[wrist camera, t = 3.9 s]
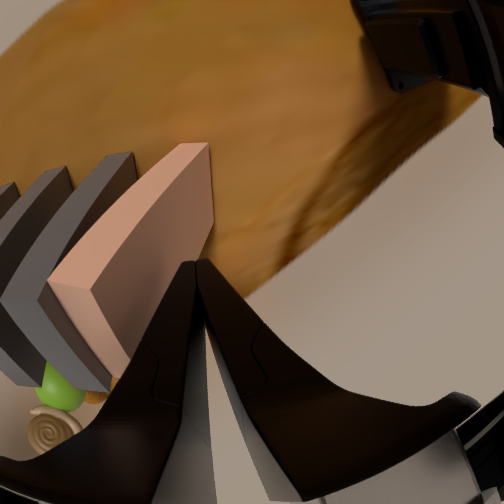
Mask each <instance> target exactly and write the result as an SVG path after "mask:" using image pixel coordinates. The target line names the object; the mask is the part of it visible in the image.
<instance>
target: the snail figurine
mask: <svg viewBox="0 0 504 504" xmlns="http://www.w3.org/2000/svg"><path fill="white" fill-rule="evenodd" d="M34 389H35V391H36V394H37V396H38V397H39V399H40V400H41V401H42V402H43V403H44V404H45V405H39V406H36V407H34V408H33V409H31V411H30V413H31V414H33V415H38V416H36V417H34V418H33V419H32V420H31V421H30V423H29V425H28V438H29V440H30V443H31V445H32V446H33V448H34V449H35V450H36V451H37V452H38V453H39V454H40V455H41V454H43V453H45V452H46V451H48V450H50V449H52V448H53V447H55V446H57V445H58V444H60V443H62V442H63V441H65V440H67V439H68V438H70V437H72V436H73V435H75V434H76V433H78V432H80V431H81V430H83V428H82V426H81V424H80V423H79V422H78V421H77V420H76V419H75V418H74V417H73V416H71V415H70V414H68V413H67V412H71V411H74V410H76V409H77V408H78V407H80V406H81V404H82V403H83V401H84V399H85V396H86V390H79V389H74V388H73V387H72V386H71V385H70V384H69V383H68V382H67V381H66V380H65V379H64V378H63V377H62V376H61V375H60V374H59V373H58V372H57V371H56V370H55V369H54V368H53V367H52V366H51V364H50V363H49V362H48V361H47V363H46V367H45V373H44V378H43V384H42V388H37V387H34Z"/></svg>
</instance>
